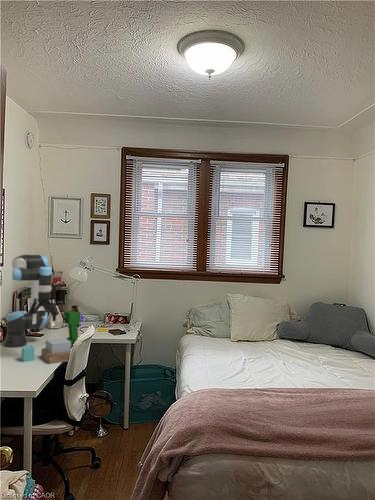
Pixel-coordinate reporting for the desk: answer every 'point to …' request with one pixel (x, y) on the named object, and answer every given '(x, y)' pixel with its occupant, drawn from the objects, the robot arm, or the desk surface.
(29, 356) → the block
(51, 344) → the tower top
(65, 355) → the tower base
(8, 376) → the desk surface
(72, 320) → the toy
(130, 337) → the desk surface
